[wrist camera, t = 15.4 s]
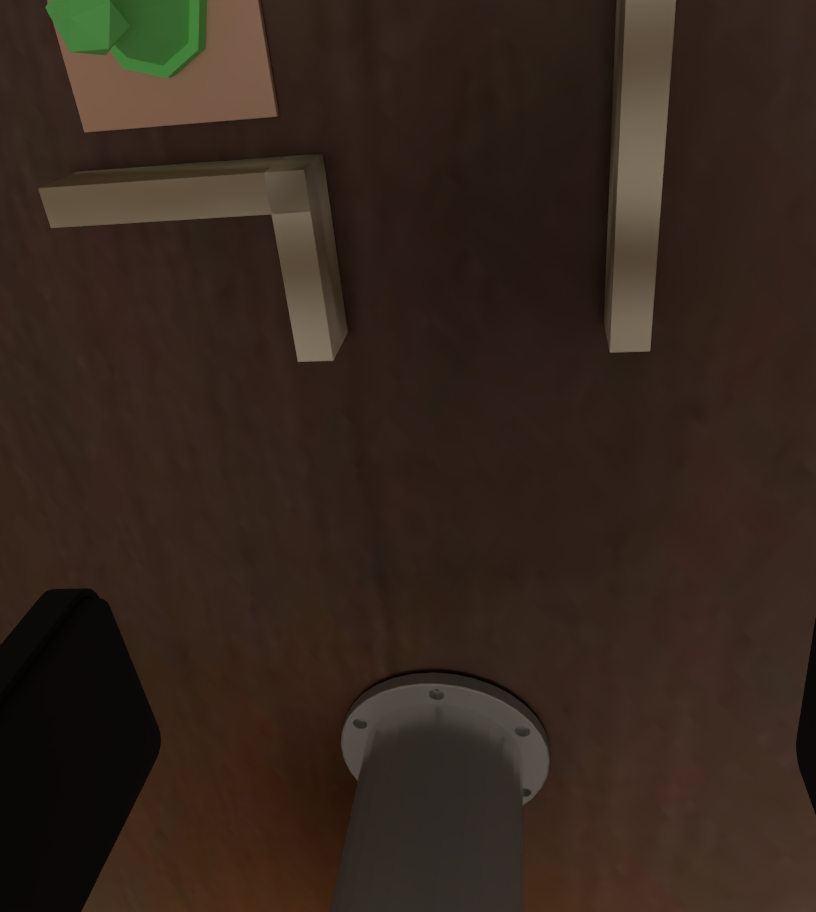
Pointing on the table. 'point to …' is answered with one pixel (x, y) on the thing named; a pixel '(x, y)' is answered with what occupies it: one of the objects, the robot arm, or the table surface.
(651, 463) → the table surface
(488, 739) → the robot arm
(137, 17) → the game piece
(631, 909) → the table surface
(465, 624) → the table surface
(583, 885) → the table surface
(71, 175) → the bent track
